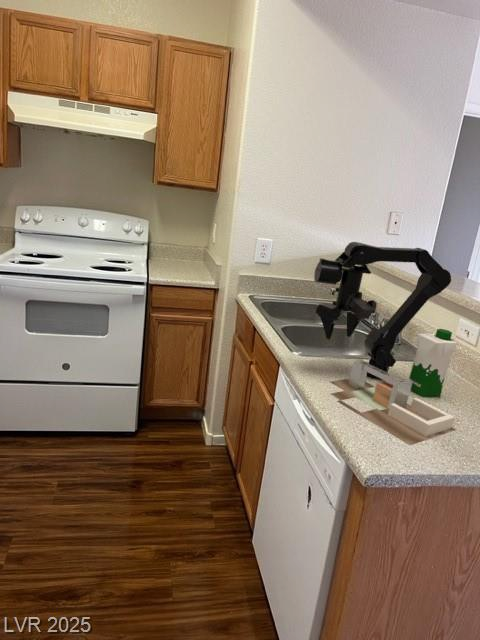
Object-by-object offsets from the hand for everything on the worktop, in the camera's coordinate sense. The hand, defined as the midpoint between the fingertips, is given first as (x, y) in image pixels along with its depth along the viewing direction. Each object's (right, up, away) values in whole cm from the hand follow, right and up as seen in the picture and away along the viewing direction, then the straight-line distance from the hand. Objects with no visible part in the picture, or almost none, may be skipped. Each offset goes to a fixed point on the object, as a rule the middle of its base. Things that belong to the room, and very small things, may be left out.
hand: (338, 337), depth 142 cm
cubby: (+15, -20, -23) cm, 34 cm away
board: (+7, -19, -17) cm, 26 cm away
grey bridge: (+7, -15, -11) cm, 21 cm away
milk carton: (+24, -17, -2) cm, 29 cm away
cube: (+10, -17, -14) cm, 24 cm away
